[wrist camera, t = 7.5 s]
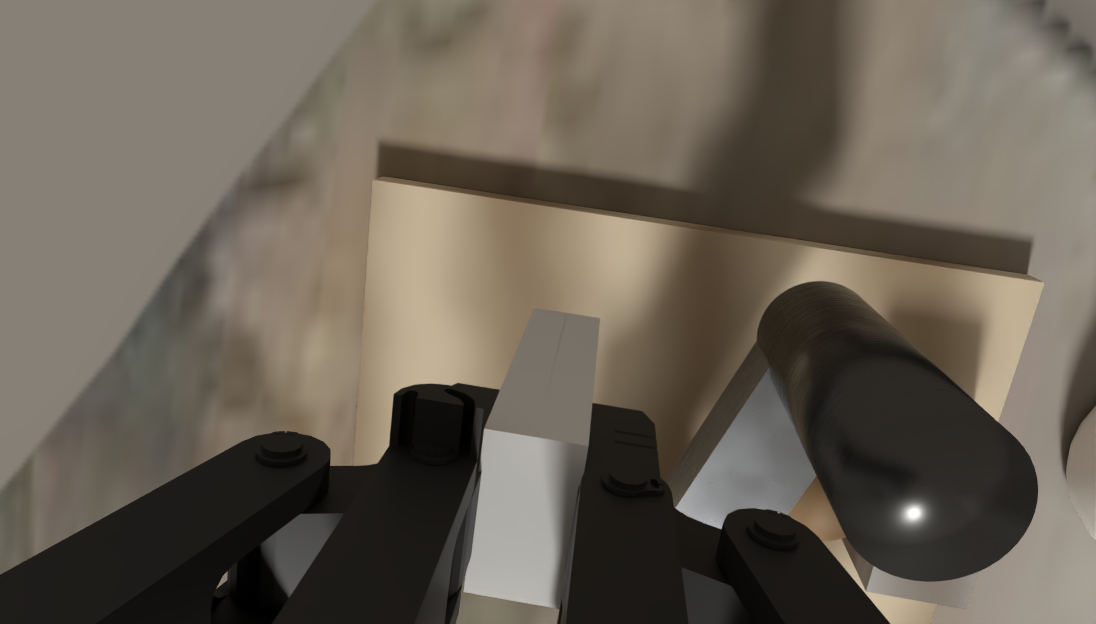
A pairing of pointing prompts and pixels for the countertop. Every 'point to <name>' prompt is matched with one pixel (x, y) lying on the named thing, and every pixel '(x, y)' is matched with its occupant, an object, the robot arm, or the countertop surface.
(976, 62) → the countertop surface
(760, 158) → the countertop surface
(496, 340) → the board
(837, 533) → the brown ball
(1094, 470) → the bottle
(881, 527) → the lever
